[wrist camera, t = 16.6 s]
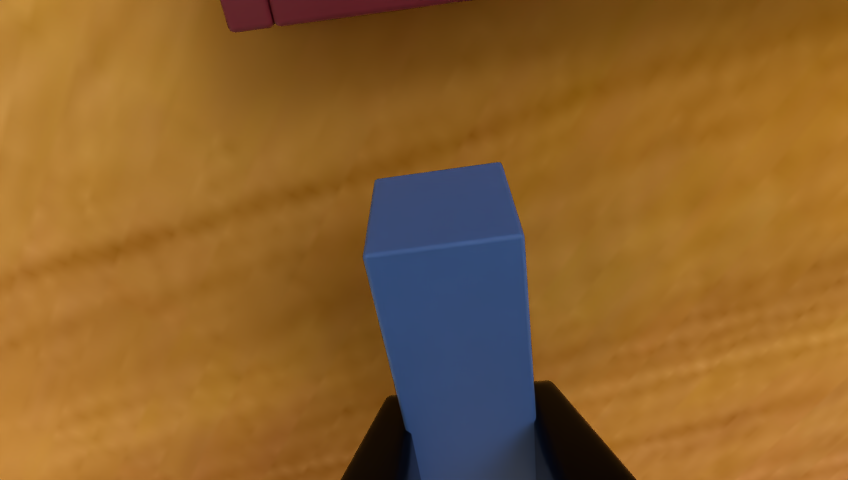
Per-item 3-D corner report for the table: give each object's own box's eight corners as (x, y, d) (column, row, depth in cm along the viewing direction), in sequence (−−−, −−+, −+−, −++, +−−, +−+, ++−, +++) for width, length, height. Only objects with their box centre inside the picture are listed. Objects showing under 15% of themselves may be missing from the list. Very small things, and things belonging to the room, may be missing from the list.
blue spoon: (318, 185, 8) (290, 265, 6) (560, 151, 8) (601, 225, 6) (411, 523, 12) (410, 625, 10) (568, 508, 12) (592, 610, 10)
